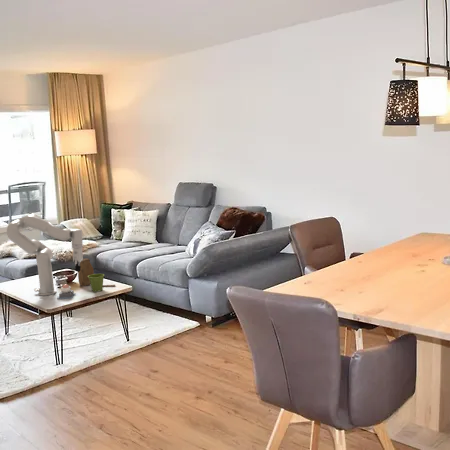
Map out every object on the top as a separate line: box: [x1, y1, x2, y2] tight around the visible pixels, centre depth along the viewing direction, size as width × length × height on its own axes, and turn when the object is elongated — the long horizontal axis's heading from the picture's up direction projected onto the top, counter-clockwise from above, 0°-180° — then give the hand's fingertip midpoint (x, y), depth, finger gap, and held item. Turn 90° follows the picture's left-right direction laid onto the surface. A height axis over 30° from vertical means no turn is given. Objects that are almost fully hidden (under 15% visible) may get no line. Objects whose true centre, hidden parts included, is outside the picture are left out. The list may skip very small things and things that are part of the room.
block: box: [77, 258, 95, 287], centre depth 412 cm, size 11×8×20 cm
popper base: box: [57, 289, 76, 300], centre depth 382 cm, size 10×10×4 cm
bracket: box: [103, 284, 116, 288], centre depth 404 cm, size 15×3×1 cm, turn 91°
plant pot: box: [88, 273, 105, 293], centre depth 394 cm, size 12×12×11 cm
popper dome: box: [60, 283, 72, 293], centre depth 381 cm, size 6×6×8 cm
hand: (77, 270), depth 394 cm, fingers closed
